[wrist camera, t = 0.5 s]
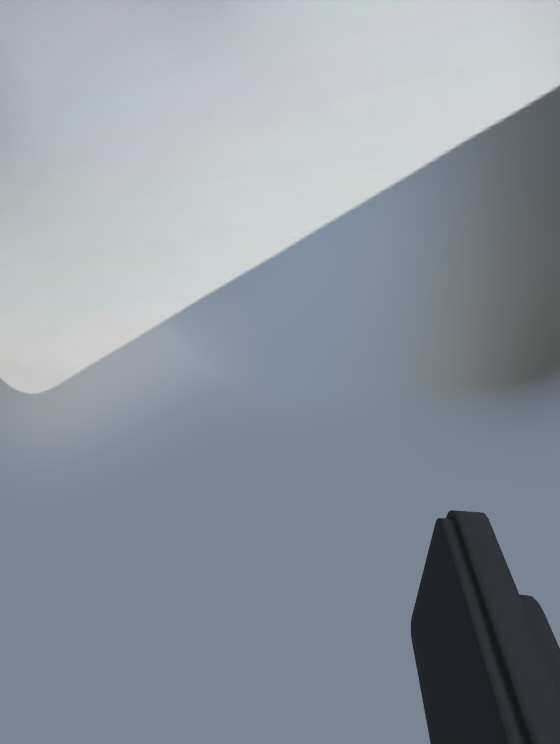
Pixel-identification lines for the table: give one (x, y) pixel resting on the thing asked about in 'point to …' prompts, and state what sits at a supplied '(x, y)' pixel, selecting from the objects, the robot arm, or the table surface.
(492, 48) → the table surface
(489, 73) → the table surface
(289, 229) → the table surface
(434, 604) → the robot arm
